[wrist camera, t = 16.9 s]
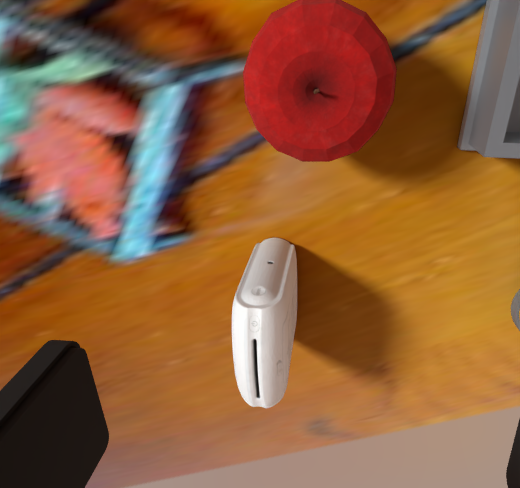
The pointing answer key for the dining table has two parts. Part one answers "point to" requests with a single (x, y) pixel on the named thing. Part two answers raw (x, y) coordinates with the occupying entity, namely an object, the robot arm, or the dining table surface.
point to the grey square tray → (495, 85)
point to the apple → (319, 79)
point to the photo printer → (265, 322)
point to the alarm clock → (516, 309)
